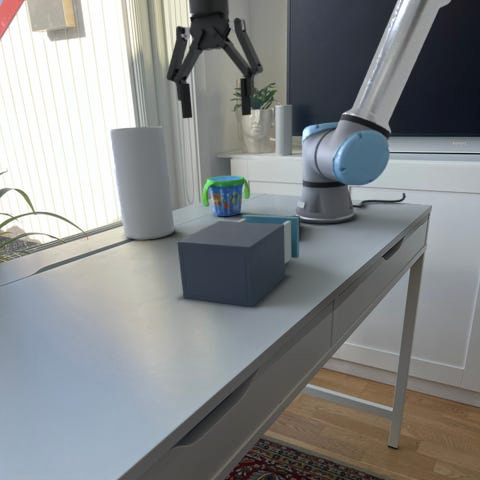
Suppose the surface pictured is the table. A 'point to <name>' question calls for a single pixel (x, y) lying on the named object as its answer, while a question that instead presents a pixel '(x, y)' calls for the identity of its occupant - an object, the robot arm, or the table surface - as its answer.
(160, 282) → the table surface
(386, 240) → the table surface
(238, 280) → the slate grey box
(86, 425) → the table surface
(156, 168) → the cylinder vase
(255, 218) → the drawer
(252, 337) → the table surface
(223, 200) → the snack cup
